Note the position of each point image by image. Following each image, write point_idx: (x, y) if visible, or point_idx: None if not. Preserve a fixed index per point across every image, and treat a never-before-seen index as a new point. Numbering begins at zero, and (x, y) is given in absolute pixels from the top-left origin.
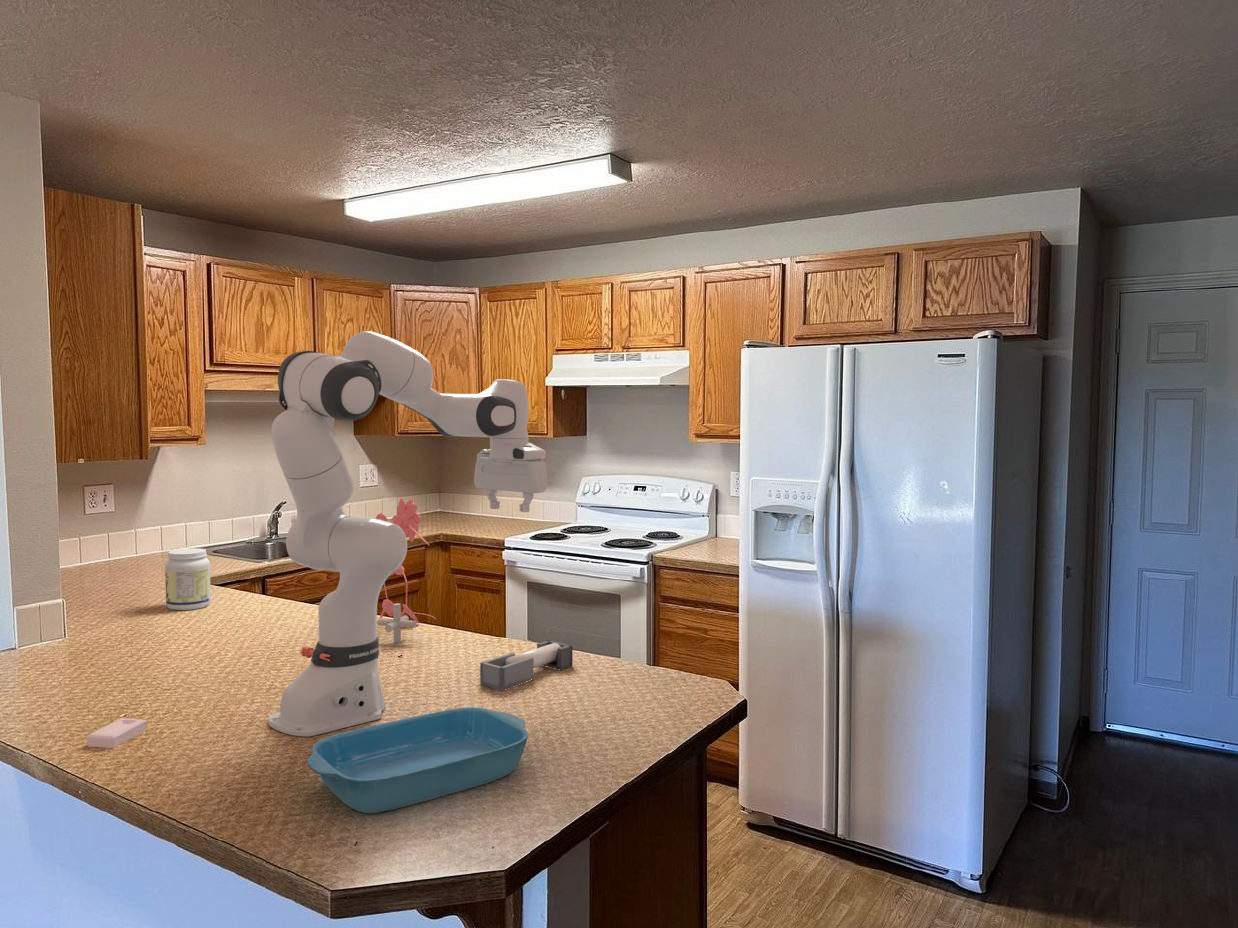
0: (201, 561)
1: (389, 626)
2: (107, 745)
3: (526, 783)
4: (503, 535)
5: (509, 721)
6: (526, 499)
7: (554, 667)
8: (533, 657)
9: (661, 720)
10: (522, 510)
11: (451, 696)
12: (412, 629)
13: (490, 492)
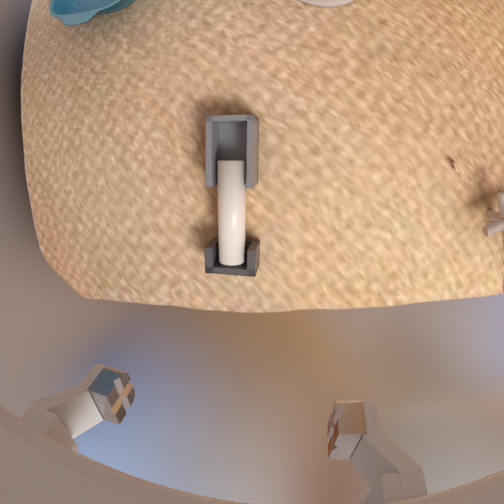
0: None
1: (501, 193)
2: None
3: None
4: None
5: (74, 13)
6: (45, 397)
7: None
8: (218, 198)
9: (48, 173)
10: (104, 368)
11: (255, 63)
12: (500, 268)
13: (381, 485)
